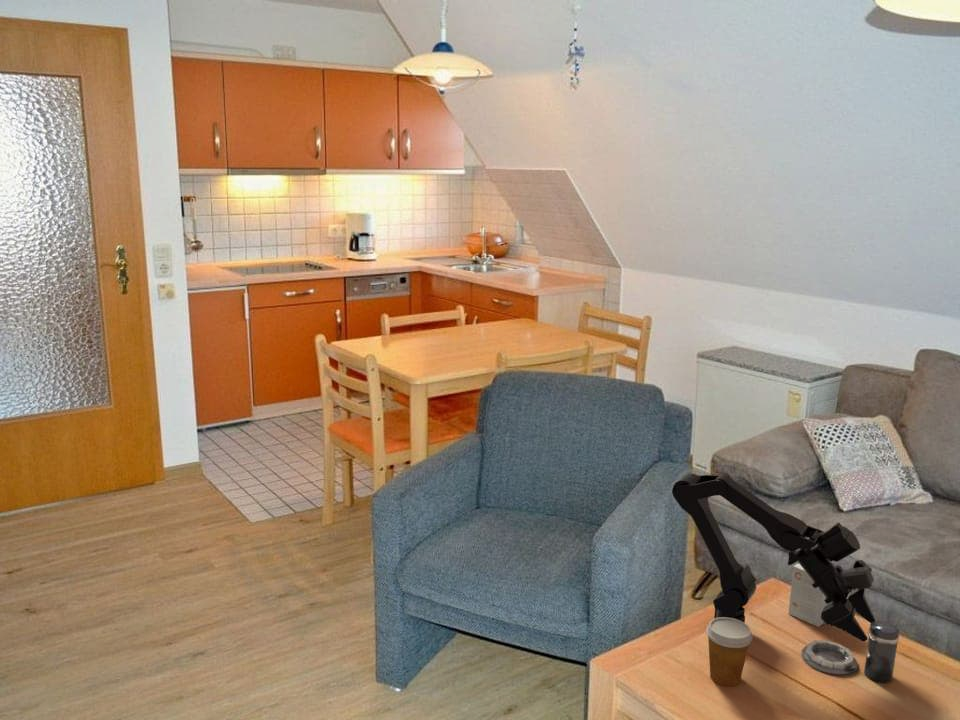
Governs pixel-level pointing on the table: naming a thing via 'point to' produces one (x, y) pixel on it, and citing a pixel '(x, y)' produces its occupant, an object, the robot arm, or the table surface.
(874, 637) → the lens
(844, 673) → the mount ring
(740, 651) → the disposable coffee cup
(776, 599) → the table surface
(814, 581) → the robot arm
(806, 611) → the small box
